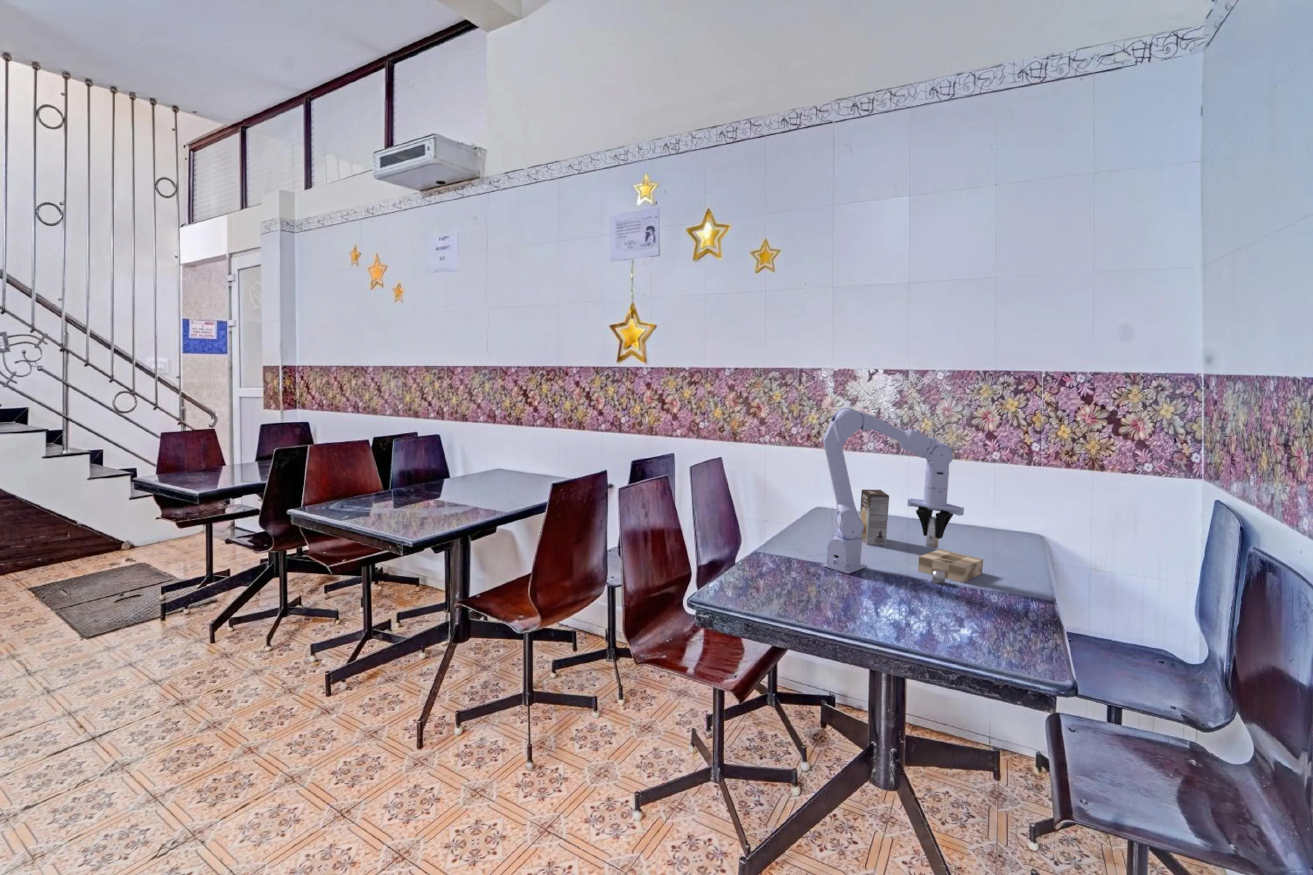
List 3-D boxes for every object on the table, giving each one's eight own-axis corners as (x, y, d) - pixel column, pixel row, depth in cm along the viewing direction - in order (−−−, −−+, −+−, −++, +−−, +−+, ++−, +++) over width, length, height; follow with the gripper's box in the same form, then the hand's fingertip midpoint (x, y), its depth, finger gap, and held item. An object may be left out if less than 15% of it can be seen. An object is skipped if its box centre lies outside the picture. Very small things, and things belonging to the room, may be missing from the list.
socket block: (962, 582, 163) (963, 567, 162) (918, 570, 172) (919, 556, 172) (981, 573, 171) (983, 559, 170) (938, 562, 180) (939, 548, 179)
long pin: (934, 548, 168) (936, 519, 167) (923, 546, 170) (925, 517, 169) (940, 546, 170) (942, 518, 169) (929, 544, 172) (931, 515, 171)
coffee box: (857, 536, 206) (860, 488, 204) (877, 537, 206) (880, 489, 204) (866, 544, 197) (869, 494, 195) (887, 545, 196) (890, 495, 195)
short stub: (941, 585, 161) (942, 574, 160) (929, 582, 163) (930, 571, 163) (946, 583, 163) (947, 571, 162) (935, 579, 165) (936, 568, 164)
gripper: (970, 489, 165) (966, 539, 167) (917, 481, 176) (914, 528, 178) (958, 492, 161) (954, 544, 162) (904, 484, 172) (901, 532, 173)
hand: (932, 536), depth 170 cm, fingers closed on long pin, 3 cm apart
